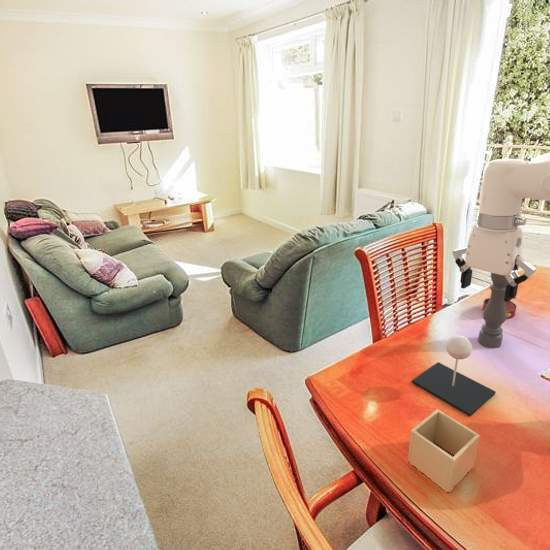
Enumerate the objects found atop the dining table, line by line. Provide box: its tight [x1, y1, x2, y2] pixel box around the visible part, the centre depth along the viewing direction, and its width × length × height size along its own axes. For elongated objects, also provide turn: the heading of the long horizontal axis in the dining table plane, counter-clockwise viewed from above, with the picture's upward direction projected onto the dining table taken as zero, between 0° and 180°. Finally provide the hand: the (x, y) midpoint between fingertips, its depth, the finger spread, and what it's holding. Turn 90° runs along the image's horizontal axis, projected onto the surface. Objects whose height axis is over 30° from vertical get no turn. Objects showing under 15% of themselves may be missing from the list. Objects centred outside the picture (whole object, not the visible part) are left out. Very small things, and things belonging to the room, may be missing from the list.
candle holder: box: [477, 272, 509, 349], centre depth 110 cm, size 6×6×25 cm
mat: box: [411, 361, 497, 417], centre depth 98 cm, size 16×12×1 cm
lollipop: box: [445, 334, 473, 386], centre depth 95 cm, size 6×6×15 cm
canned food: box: [482, 297, 518, 320], centre depth 129 cm, size 11×10×10 cm
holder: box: [407, 408, 481, 493], centre depth 76 cm, size 9×9×9 cm
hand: (486, 292), depth 86 cm, fingers open, 9 cm apart
